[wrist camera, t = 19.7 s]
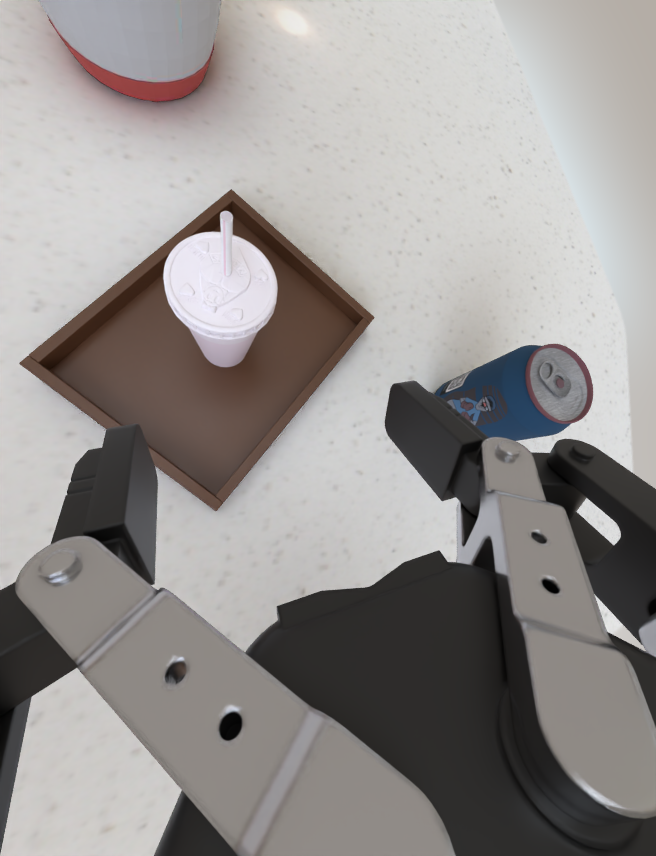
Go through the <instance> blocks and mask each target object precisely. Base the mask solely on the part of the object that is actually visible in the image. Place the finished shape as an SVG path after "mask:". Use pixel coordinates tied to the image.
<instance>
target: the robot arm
mask: <svg viewBox="0 0 656 856" xmlns="http://www.w3.org/2000/svg"><path fill="white" fill-rule="evenodd" d="M385 428H386V432H387V434H388V436H389V437H390V439H391V440H392V441H393V442H394V443H395V445H396V446H397V447H398V448H399V450H400V451H401V452H402V453H403V454H404V456H405V457H406V458H407V459H408V460H409V462H410V463H411V464H412V465H413V467H414V468H415V469H416V470H417V471H418V473H419V474H420V475H421V476H422V478H423V479H424V480H425V481H426V482H427V484H428V485H429V486H430V487H431V488H432V490H433V491H434V492H435V493H436V495H437V496H438V497H439V498H440V499H441V501H444V500H448V499H451V498H455V497H457V499H458V500H459V503H458V505H457V559H456V562H447V560H446V559H445V558H444V556H443V555H442V553H441V552H440V551H436V552H433V553H430V554H427V555H424V556H421V557H418V558H415V559H412V560H410V561H407V562H404V563H403V564H401V565H400V566H398V567H397V568H396V569H394V570H393V571H392V572H390V573H389V574H387V575H386V576H385V577H383V578H382V579H381V580H379V581H378V582H376V583H375V584H374V585H372V586H370V587H366V588H353V589H340V590H327V591H320V592H317V593H314V594H311V595H308V596H305V597H302V598H300V599H297V600H294V601H291V602H288V603H285V604H282V605H279V606H277V615H278V621H277V622H275V623H274V624H273V625H271V626H270V627H268V628H267V629H266V630H265V631H264V632H263V633H262V634H261V635H259V637H258V638H257V639H256V640H255V641H254V642H253V643H252V644H251V645H250V647H249V648H248V649H247V651H246V652H245V653H244V652H243V651H242V650H241V649H240V648H238V647H237V646H236V645H235V644H233V643H232V642H231V641H230V640H229V639H227V638H226V637H225V636H224V635H223V634H221V633H220V632H219V631H218V630H216V629H215V628H214V627H213V626H212V625H210V624H209V623H208V622H207V621H206V620H204V619H203V618H202V617H201V616H200V615H198V614H197V613H196V612H195V611H193V610H192V609H191V608H190V607H189V606H187V605H186V604H185V603H184V602H183V601H181V600H180V599H179V598H178V597H176V596H175V595H174V594H173V593H171V592H170V591H168V590H167V589H165V588H160V589H159V590H156V589H155V588H153V587H152V586H151V585H153V584H155V553H156V521H157V489H158V482H157V474H156V469H155V466H154V462H153V460H152V457H151V454H150V451H149V448H148V446H147V443H146V440H145V437H144V434H143V432H142V429H141V427H140V425H139V424H131V425H125V426H119V427H112V428H108V429H107V430H106V434H105V438H104V442H103V447H102V448H98V449H92V450H88V451H87V452H86V453H85V455H84V456H83V457H82V458H81V459H80V460H79V461H78V462H77V463H76V464H75V468H74V471H73V474H72V477H71V482H70V484H69V487H68V490H67V495H66V497H65V500H64V503H63V506H62V509H61V513H60V516H59V519H58V522H57V526H56V529H55V532H54V535H53V538H52V542H51V545H49V546H47V547H46V548H44V549H42V550H41V551H40V552H38V553H37V554H36V555H34V556H33V557H32V558H31V559H30V560H29V561H28V562H27V563H26V564H25V566H24V567H23V568H22V570H21V571H20V573H19V575H18V577H17V580H16V582H15V583H13V584H11V585H10V586H8V587H6V588H4V589H2V590H0V853H1V848H2V843H3V838H4V833H5V828H6V823H7V818H8V812H9V807H10V802H11V797H12V792H13V787H14V782H15V777H16V772H17V767H18V762H19V757H20V752H21V747H22V742H23V737H24V732H25V727H26V722H27V717H28V712H29V707H30V702H31V697H32V696H33V695H35V694H36V693H38V692H39V691H41V690H43V689H44V688H46V687H47V686H49V685H50V684H52V683H53V682H55V681H57V680H58V679H60V678H61V677H63V676H64V675H66V674H67V673H69V672H71V671H72V670H74V669H75V668H78V669H79V670H80V672H81V673H82V674H83V675H84V677H85V678H86V679H87V680H88V681H89V682H90V684H91V685H92V686H93V687H94V688H95V689H96V691H97V692H98V693H99V694H100V695H101V696H102V698H103V699H104V700H105V701H106V702H107V703H108V705H109V706H110V707H111V708H112V709H113V710H114V711H115V713H116V714H117V715H118V716H119V717H120V718H121V720H122V721H123V722H124V723H125V724H126V725H127V727H128V728H129V729H130V730H131V731H132V732H133V734H134V735H135V736H136V737H137V738H138V739H139V741H140V742H141V743H142V744H143V745H144V746H145V748H146V749H147V750H148V751H149V752H150V753H151V754H152V756H153V757H154V758H155V759H156V760H157V761H158V763H159V764H160V765H161V766H162V767H163V768H164V770H165V771H166V772H167V773H168V774H169V775H170V777H171V778H172V779H173V780H174V781H175V782H176V784H177V785H178V786H179V787H180V788H181V789H182V791H181V794H180V796H179V798H178V801H177V803H176V805H175V808H174V810H173V812H172V815H171V817H170V819H169V822H168V824H167V826H166V829H165V831H164V833H163V836H162V838H161V840H160V843H159V845H158V847H157V850H156V852H155V854H154V856H656V489H655V488H653V487H652V486H650V485H649V484H647V483H646V482H645V481H643V480H642V479H640V478H639V477H637V476H636V475H635V474H633V473H632V472H630V471H629V470H627V469H626V468H625V467H623V466H622V465H620V464H619V463H617V462H616V461H615V460H613V459H612V458H610V457H609V456H607V455H606V454H605V453H603V452H602V451H600V450H599V449H597V448H596V447H594V446H592V445H590V444H587V443H585V442H582V441H578V440H573V439H562V440H559V441H557V442H556V443H555V445H554V447H553V449H552V450H551V452H550V453H531V452H530V451H529V450H528V449H527V448H526V447H524V446H523V445H521V444H520V443H518V442H516V441H513V440H510V439H507V438H502V437H492V438H489V437H488V436H487V435H486V434H484V433H483V432H482V431H481V430H480V429H478V428H477V427H476V426H475V425H474V424H472V423H471V422H470V421H469V420H468V419H466V418H465V417H464V416H463V415H462V416H461V413H459V412H458V411H457V410H456V409H455V408H454V409H453V408H452V406H451V405H450V404H449V403H447V402H446V401H445V400H444V399H443V398H441V397H438V396H436V395H434V394H432V393H430V392H428V391H427V390H426V389H424V388H423V387H422V386H421V385H420V384H419V383H417V382H416V381H408V382H402V383H396V384H393V385H392V387H391V389H390V394H389V400H388V406H387V412H386V417H385ZM586 498H588V499H589V500H590V501H591V502H592V503H594V504H595V505H596V506H597V507H598V508H600V509H601V510H602V511H603V512H604V513H605V514H607V515H608V516H609V517H610V518H611V519H613V520H614V521H615V522H616V523H617V525H618V526H619V528H620V531H621V538H620V540H619V541H618V542H617V543H616V544H615V545H612V544H611V543H610V542H609V541H608V540H607V539H606V538H605V537H604V536H602V535H601V534H600V533H599V532H598V531H597V530H596V529H595V528H594V527H592V526H591V525H590V524H589V523H588V522H587V521H586V520H585V519H584V518H583V517H581V516H580V515H579V514H578V513H577V512H576V511H577V510H578V509H579V507H580V506H581V504H582V503H583V502H584V500H585V499H586ZM594 594H595V595H596V596H597V597H598V598H599V599H600V600H601V601H602V603H603V604H604V605H605V606H606V607H607V608H608V609H609V610H610V611H611V612H612V613H613V614H614V615H615V616H616V618H617V619H618V620H619V621H620V622H621V623H622V624H623V625H624V626H625V627H626V628H627V629H628V630H629V631H630V632H631V633H632V635H633V636H634V637H635V638H636V639H637V640H638V641H639V642H640V643H641V644H642V645H643V646H644V648H645V650H646V651H643V650H641V649H639V648H637V647H635V646H634V645H632V644H629V643H627V642H626V641H624V640H622V639H620V638H618V637H616V636H614V635H612V634H610V633H608V632H607V630H606V627H605V625H604V622H603V619H602V616H601V613H600V610H599V607H598V604H597V601H596V598H595V595H594Z"/></svg>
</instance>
